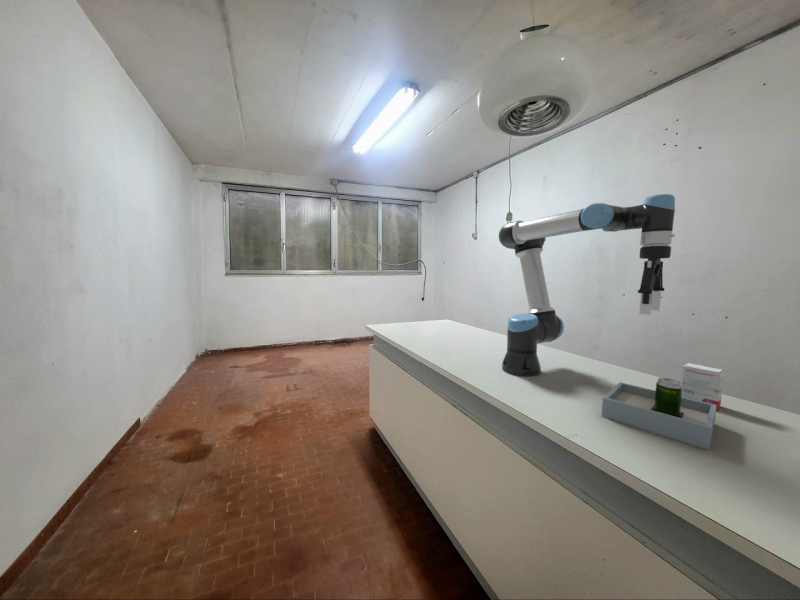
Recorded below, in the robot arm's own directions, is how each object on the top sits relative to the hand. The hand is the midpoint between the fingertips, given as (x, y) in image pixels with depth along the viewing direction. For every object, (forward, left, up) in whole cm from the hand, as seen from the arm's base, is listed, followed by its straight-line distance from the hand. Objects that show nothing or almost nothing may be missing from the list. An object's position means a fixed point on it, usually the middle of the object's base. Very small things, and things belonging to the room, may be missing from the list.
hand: (649, 312), depth 97 cm
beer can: (+8, -16, -29) cm, 34 cm away
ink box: (+13, +8, -29) cm, 33 cm away
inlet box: (+6, -16, -29) cm, 33 cm away
